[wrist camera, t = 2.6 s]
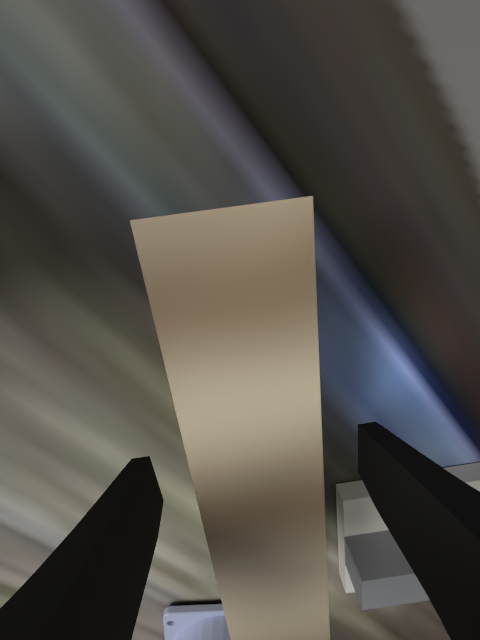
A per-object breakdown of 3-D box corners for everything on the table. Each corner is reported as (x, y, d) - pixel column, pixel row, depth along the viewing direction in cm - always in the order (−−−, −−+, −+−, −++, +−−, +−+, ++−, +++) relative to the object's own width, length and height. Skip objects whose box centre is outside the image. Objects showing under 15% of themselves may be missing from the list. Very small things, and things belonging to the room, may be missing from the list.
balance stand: (484, 551, 17) (537, 613, 14) (339, 573, 17) (362, 641, 14) (504, 458, 15) (572, 510, 12) (335, 484, 15) (362, 542, 12)
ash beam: (291, 502, 15) (331, 660, 9) (234, 510, 15) (238, 673, 9) (266, 223, 10) (313, 195, 5) (183, 234, 10) (129, 220, 5)
